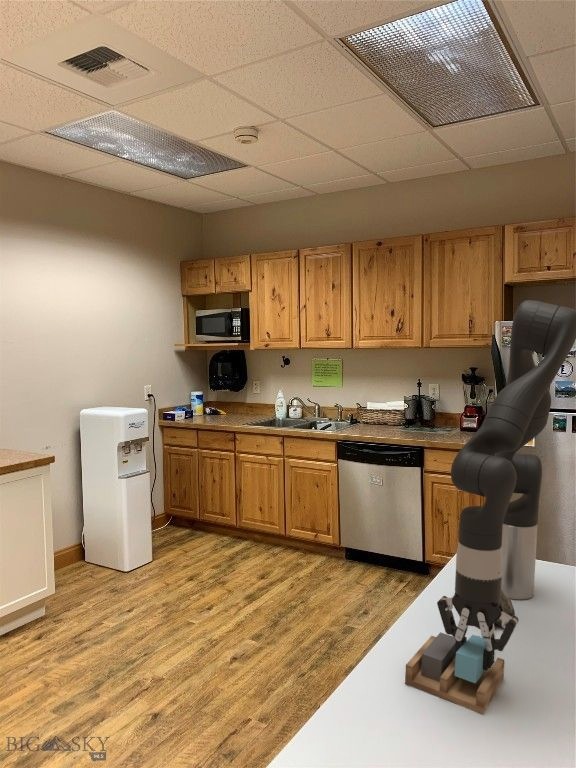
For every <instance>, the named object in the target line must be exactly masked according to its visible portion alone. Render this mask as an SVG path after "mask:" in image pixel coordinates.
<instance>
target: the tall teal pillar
mask: <svg viewBox="0 0 576 768" xmlns="http://www.w3.org/2000/svg"><path fill="white" fill-rule="evenodd" d="M484 649H485V644H484V639H483V637H482V636H479V635H475V634H472V635H471V636H470V637H469V638H467V641H466V642H465V643H464V644H463V645H462V647H461V648H460V649H459V650H458V651H457V652H456V660H455V674H454V676H456V677H459V678H462V679H465V680H467V681H470V682H473V683H476V682H477V681H478V680H479V678H480V677H481V676H482V674H483V673H484V672H485V670H484V669H483V652H484Z"/></svg>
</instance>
